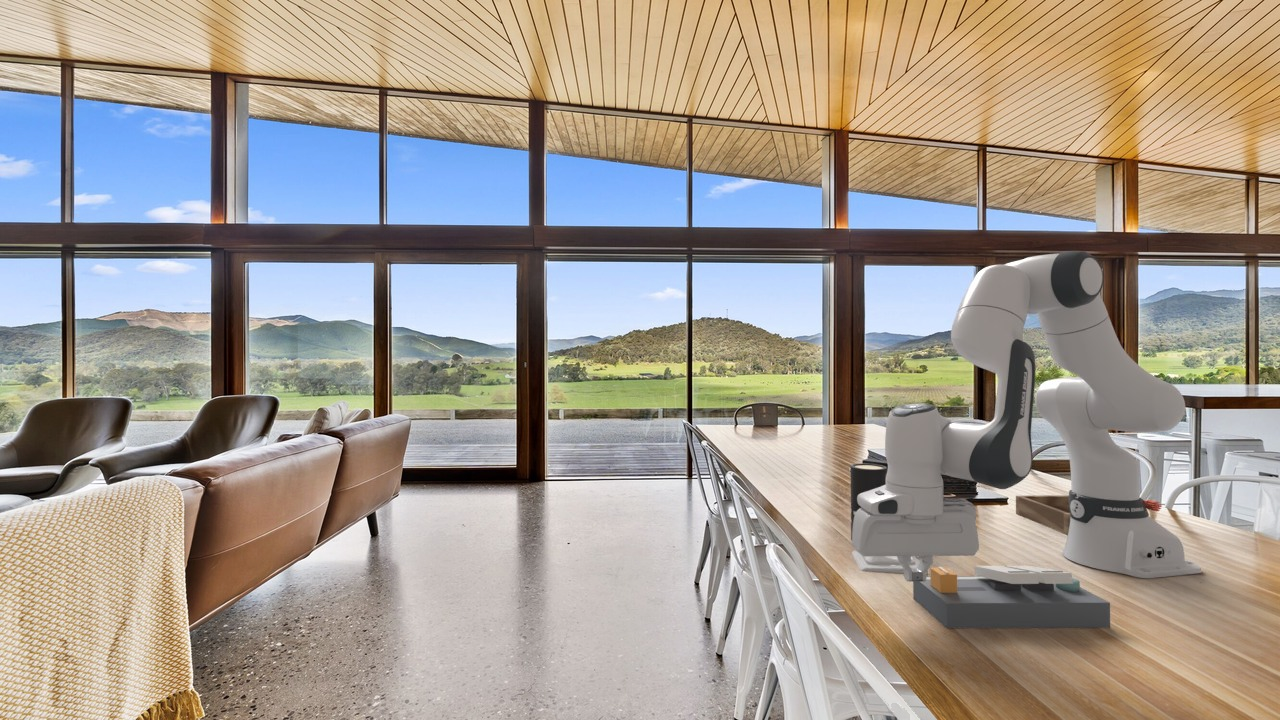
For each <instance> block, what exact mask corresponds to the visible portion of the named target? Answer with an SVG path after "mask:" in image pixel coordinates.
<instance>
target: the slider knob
mask: <svg viewBox="0 0 1280 720" xmlns="http://www.w3.org/2000/svg"><path fill="white" fill-rule="evenodd" d="M929 569H930V570H929V573H930V575H929V576H930V580H931V586H932V587H934V588H935V589H936V590H938V591H939V592H940V593H957V576H958V574H956V573H955V572H954V571H952V570H951V569H949V568H948V567H942V566H938V567H929Z"/></svg>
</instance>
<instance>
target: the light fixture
mask: <svg viewBox="0 0 1280 720" xmlns="http://www.w3.org/2000/svg"><path fill="white" fill-rule="evenodd" d="M861 462H862V463H859V462H858V463H853V464H850V529H851V530H850V539H851V541H852V530H853V521H854V516H855V513H856V512H857V510H858V509H860V508H862V507H861V506H860V505H859V504H858V502H857V496H858V495H859V494H860V493H863V492H866V491H869V490H872V489H875V488H878V487H881V486H883V485H886V474H887V471H888V463H887V460H881V459H873V458H865V459H862V461H861Z"/></svg>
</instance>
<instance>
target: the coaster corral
mask: <svg viewBox="0 0 1280 720" xmlns="http://www.w3.org/2000/svg"><path fill="white" fill-rule="evenodd" d="M1015 514H1016V515H1018V516H1021V517H1023V518H1026V519H1028V520H1030V521H1033V522H1035V523H1038V524H1040V525H1043V526H1045V527H1047V528H1050V529H1052V530H1055V531H1057V532H1060V533H1062V534H1065V535H1067V536H1068V531H1069V525H1070V517H1071V515H1070V510H1069V494H1068V495H1067V494H1065V495H1063V494H1061V495H1060V494H1058V495H1054V494H1052V495H1047V494H1046V495H1015Z"/></svg>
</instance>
